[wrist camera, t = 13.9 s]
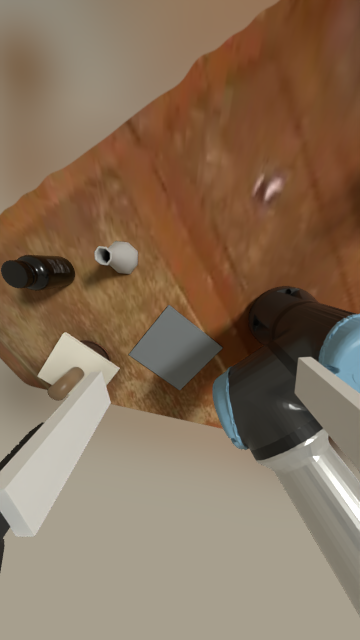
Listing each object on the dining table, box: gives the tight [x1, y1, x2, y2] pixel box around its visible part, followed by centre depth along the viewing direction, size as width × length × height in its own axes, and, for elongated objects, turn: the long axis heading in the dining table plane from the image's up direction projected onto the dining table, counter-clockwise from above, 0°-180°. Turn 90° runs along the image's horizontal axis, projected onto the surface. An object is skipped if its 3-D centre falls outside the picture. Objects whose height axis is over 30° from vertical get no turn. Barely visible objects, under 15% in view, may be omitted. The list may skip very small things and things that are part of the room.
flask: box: [94, 241, 138, 274], centre depth 35 cm, size 7×7×10 cm
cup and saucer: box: [80, 340, 111, 362], centre depth 46 cm, size 12×12×6 cm
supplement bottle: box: [1, 255, 75, 291], centre depth 36 cm, size 7×7×12 cm
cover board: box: [38, 332, 120, 400], centre depth 39 cm, size 15×15×8 cm
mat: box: [129, 305, 223, 390], centre depth 46 cm, size 18×18×1 cm
